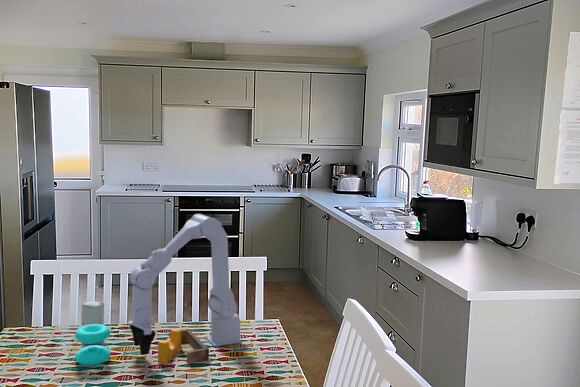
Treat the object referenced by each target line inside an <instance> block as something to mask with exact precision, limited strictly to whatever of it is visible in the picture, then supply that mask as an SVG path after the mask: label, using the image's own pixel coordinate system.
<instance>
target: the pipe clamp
mask: <svg viewBox="0 0 580 387" xmlns="http://www.w3.org/2000/svg"><path fill="white" fill-rule="evenodd" d="M181 330H182V329H179V328H172V330H171V331H170V332H171V338H169V337H168V338H167V339H165V340H164V339H160V340H159V341H158V342H157V363H162V364H167V363H168V362H169V361H170V360H171V359H172V358H173V357H174V356H175V355H176V354H177V353H178V352H179V351H180V350H181V349H182V341H181Z"/></svg>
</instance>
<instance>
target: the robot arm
mask: <svg viewBox="0 0 580 387" xmlns="http://www.w3.org/2000/svg"><path fill="white" fill-rule="evenodd" d="M203 237H205V239H207V240H209V241H210V247H211V271H212V272H211V273H212V288H211V289H210V290H209V298H208V300H207V306H208V308H209V310H210V336H207V337H206V340H207V341H209V343H210V344H212V345H213V347H219V346H221V347H222V346H226V345H232V344H237V343H238V344H239V343H241V342H242V340H241V319H240V316H239V314H237V313H236V312H237V310H238V306H237V305H238V304H237V303H236V301H235V296H234V293H233V292H232V289H231V288H230V273H229V271H230V270H229V269H230V268H229V265H230V264H229V242H228V233H226V231H225V229H224V227H223V226H222V222H221V221H220V220H218V219H217V218H216V217H212V216H211V217H210V216H207V215H205V214H202V213H195V214H194V215H192V216H191V218H190V219H188V220H187V221H186V222H185V224H184V225H183V226H182V228H181V229H180V230H179V231H178V232H177V233H176V235H175V236H174V237H172V239H171V240H170V241H169V242H168V243H167V245H165V247H164V248H158V249H156V250H153V251H152V252H151V255H150V256H149V257H148V258H147V259H146V260H145V261H144V262H141V263H140V264H139V266H137V267H135V268H133V270H132V271H131V274H130V275H129V277H128V278H129V281H130V282H131V284H132V288H131V290H132V292H131V294H132V295H131V297H132V298H131V312H132V313H131V320H129V321H127V324H128V326H129V328H130V330H131V334H132V338H133V343H134V346H135V347H137V346H138V347H139V351H140V355H142V356H144V355H149V354H150V350H151V346H152V342H153V339H154V338H155V336H156V331H155V330H152V324H153V319H152V315H153V314H152V313H153V312H152V306H153V305H152V300H153V298H152V297H153V296H152V295H153V293H152V292H153V291H152V290H153V289H152V286H154V284H155V282H156V278H157V277H158V276H159V275H160V274H161V273H162V272H163V271H164V270H165V269H166V268H167V267H168V265H170V264H171V263H172V257H173V256H174V255H175V254H176V253H177V252H178V251H179V250H180V249H182V248H183V247H184V246H185V245H186V244H187V243H188V242H190V241H191V240H194V239H195V240H196V239H202V238H203Z"/></svg>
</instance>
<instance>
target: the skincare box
mask: <svg viewBox="0 0 580 387" xmlns="http://www.w3.org/2000/svg"><path fill="white" fill-rule="evenodd" d="M104 320H105V303H104V302H101V301H100V302H99V301H94V300H88V301H86V302H83V303H82V304H81V325H80V326H81V327H82V326H85V325H90V324H102V325H105V324H104V322H105V321H104Z"/></svg>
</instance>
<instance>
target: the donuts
mask: <svg viewBox="0 0 580 387" xmlns="http://www.w3.org/2000/svg"><path fill="white" fill-rule="evenodd" d="M110 335H111V329H110V327H109V326H107V325H105V324H104V325H102V324H90V325H85V326H82V327H79V328H77V329H76V331H75V332H74V337H75V339H76V340H77V341H78V342H80V343H83V344H92V345H88V346H84V347H82V348H80V349H78V351H77V352H76V354H75V357H74V358H75V361H76V363H78V364H79V365H82V366H86V367H87V366H92V367H93V366H98V365H101V364H103V363H106V362H107V361H108V360H109V359H110V356H111V352H110V349H109V348H108V347H106V346H104V345H98V344H99V343H101V342H103V341H105V340H106V339H108V338H109V336H110ZM97 343H98V344H97ZM94 344H95V345H94Z"/></svg>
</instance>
